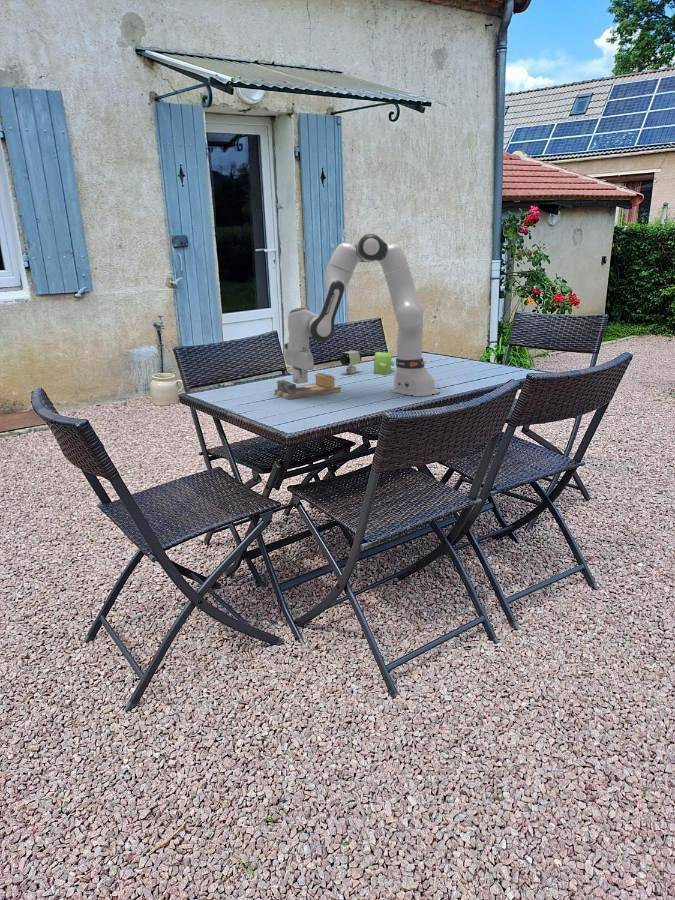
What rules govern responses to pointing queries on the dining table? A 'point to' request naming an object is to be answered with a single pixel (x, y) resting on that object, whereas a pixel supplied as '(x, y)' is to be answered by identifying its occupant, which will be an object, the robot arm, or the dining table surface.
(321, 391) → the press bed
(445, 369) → the dining table surface
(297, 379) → the housing
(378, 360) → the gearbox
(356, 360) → the pneumatic valve
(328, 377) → the yellow orange block
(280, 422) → the dining table surface
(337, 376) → the dining table surface
